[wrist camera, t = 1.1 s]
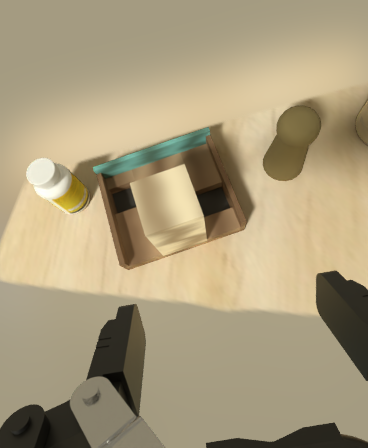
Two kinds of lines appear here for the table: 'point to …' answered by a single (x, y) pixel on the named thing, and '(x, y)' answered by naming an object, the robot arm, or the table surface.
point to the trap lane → (155, 163)
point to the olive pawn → (291, 142)
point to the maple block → (169, 210)
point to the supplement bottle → (58, 186)
